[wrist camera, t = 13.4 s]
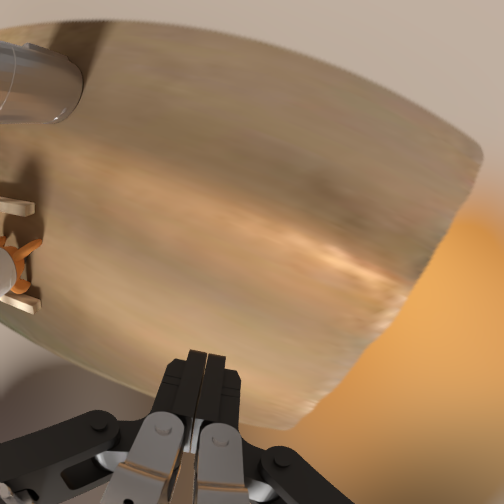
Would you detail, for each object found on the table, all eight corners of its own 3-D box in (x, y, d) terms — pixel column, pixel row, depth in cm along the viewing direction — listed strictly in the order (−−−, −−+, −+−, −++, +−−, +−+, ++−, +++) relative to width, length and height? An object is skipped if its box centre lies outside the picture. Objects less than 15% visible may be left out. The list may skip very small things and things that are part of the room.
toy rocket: (1, 240, 40) (-56, 251, 25) (39, 212, 40) (-20, 215, 25) (22, 294, 42) (-32, 320, 27) (62, 270, 42) (7, 294, 27)
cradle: (34, 202, 37) (14, 210, 32) (41, 307, 43) (25, 322, 38) (-15, 193, 36) (-34, 200, 31) (-6, 289, 42) (-22, 300, 37)
